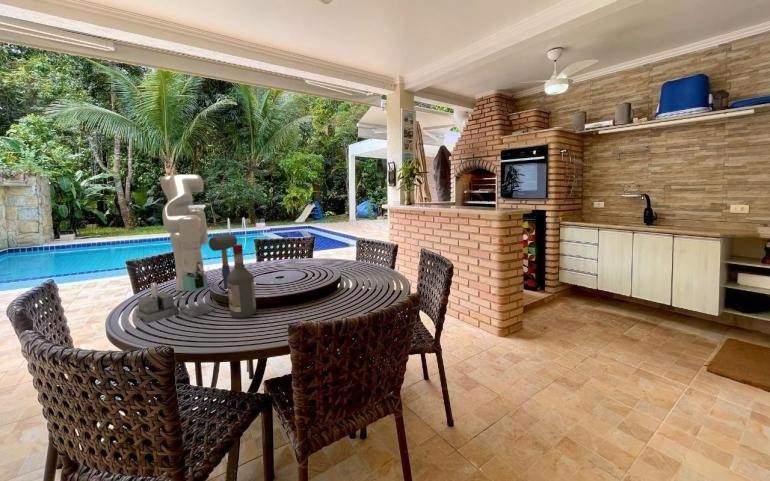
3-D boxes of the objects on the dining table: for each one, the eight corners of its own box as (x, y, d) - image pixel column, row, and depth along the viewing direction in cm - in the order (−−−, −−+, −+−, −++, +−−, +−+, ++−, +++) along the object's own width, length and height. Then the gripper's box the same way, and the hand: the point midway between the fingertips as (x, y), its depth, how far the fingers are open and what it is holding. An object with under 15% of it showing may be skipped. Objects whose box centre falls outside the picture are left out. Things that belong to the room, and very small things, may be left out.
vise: (178, 304, 164) (174, 275, 162) (190, 310, 157) (186, 279, 154) (136, 316, 151) (132, 284, 149) (147, 322, 144) (143, 289, 141)
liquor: (249, 308, 158) (243, 242, 153) (258, 313, 151) (252, 245, 146) (228, 314, 151) (221, 245, 146) (237, 319, 145) (230, 248, 140)
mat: (204, 306, 162) (204, 304, 162) (215, 310, 156) (215, 308, 156) (181, 312, 154) (181, 310, 154) (192, 317, 148) (191, 315, 148)
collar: (200, 285, 158) (198, 272, 157) (207, 287, 154) (206, 274, 153) (183, 289, 152) (182, 275, 151) (191, 292, 148) (189, 278, 147)
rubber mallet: (223, 297, 174) (217, 237, 169) (212, 295, 177) (206, 236, 172) (242, 289, 185) (237, 233, 180) (232, 288, 188) (227, 232, 183)
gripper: (172, 245, 152) (177, 285, 155) (191, 249, 142) (196, 291, 145) (190, 242, 158) (195, 281, 161) (210, 246, 148) (214, 287, 150)
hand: (195, 285), depth 153 cm, fingers closed on collar, 7 cm apart
